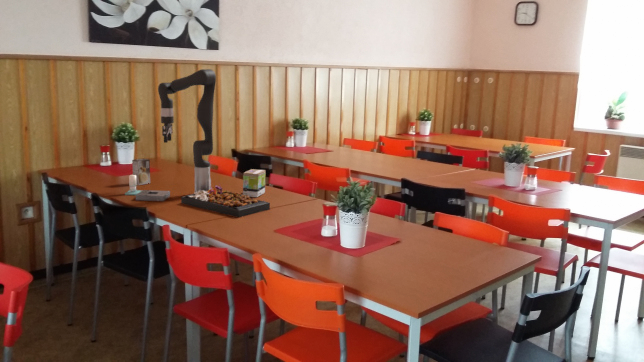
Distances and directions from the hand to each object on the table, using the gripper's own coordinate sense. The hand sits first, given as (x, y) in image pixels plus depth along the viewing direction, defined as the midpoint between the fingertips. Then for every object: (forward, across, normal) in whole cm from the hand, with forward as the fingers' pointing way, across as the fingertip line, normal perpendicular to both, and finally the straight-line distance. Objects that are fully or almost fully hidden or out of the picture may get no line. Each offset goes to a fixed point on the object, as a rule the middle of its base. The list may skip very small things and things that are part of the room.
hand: (167, 141), depth 355 cm
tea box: (+30, +7, +55) cm, 63 cm away
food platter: (+31, +40, +43) cm, 66 cm away
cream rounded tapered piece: (+29, +16, -17) cm, 37 cm away
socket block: (+30, +26, -2) cm, 40 cm away
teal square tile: (+30, +16, -16) cm, 38 cm away
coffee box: (+30, -13, -21) cm, 39 cm away
